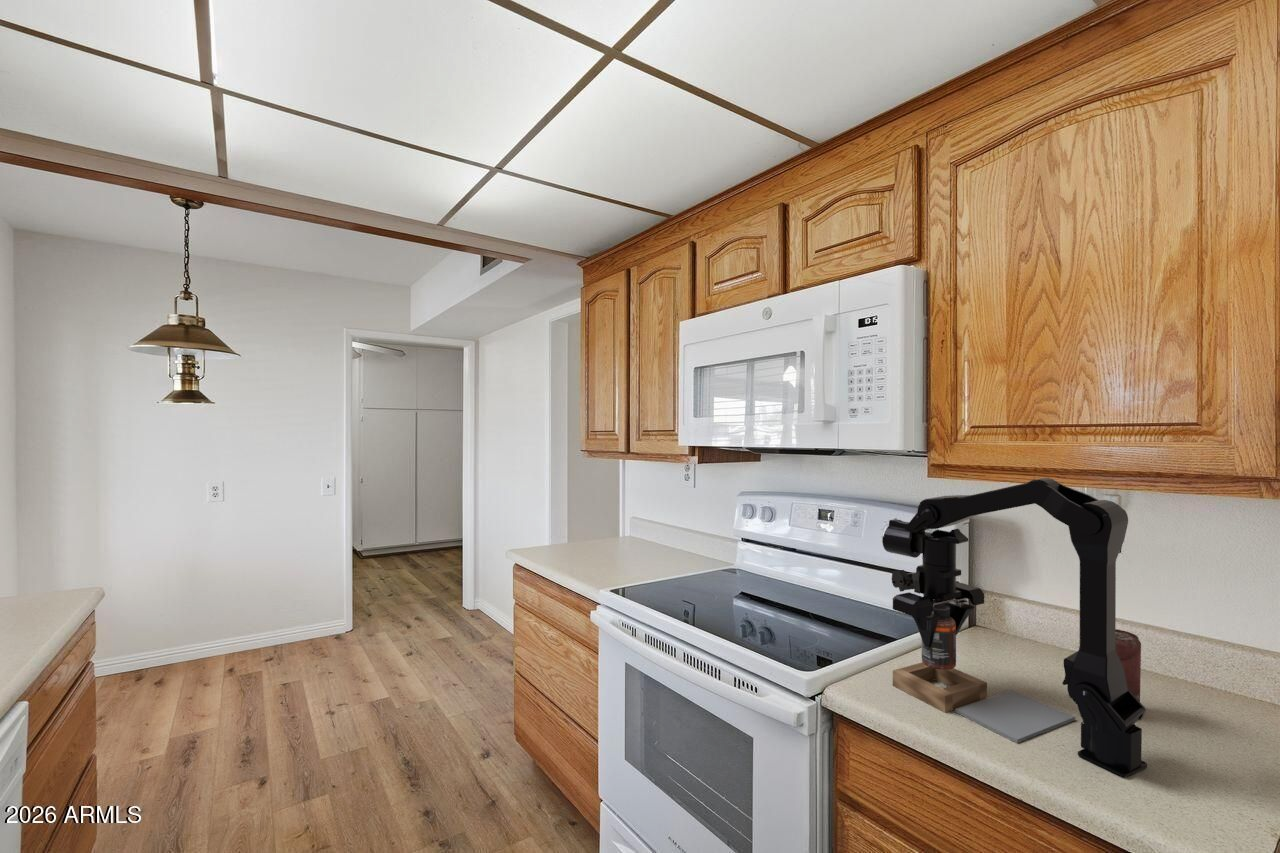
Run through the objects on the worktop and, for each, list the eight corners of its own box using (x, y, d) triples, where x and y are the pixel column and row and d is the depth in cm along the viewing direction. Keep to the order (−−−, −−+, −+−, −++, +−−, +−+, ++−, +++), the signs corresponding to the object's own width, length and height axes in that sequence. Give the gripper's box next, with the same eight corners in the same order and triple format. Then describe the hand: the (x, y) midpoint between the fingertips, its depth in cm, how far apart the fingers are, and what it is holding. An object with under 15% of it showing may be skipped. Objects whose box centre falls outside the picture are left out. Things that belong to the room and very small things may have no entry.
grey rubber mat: (1075, 720, 103) (1075, 716, 103) (1016, 743, 96) (1016, 739, 96) (1012, 692, 113) (1012, 689, 113) (955, 712, 106) (955, 708, 106)
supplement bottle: (948, 658, 117) (948, 601, 116) (961, 671, 111) (962, 611, 110) (916, 657, 117) (916, 600, 117) (928, 670, 111) (928, 610, 111)
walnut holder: (986, 698, 111) (987, 682, 111) (944, 712, 106) (945, 695, 106) (933, 673, 122) (933, 659, 122) (892, 685, 117) (892, 670, 117)
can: (1091, 710, 107) (1092, 633, 106) (1100, 699, 111) (1102, 624, 110) (1134, 724, 102) (1136, 643, 101) (1143, 711, 106) (1144, 634, 106)
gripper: (935, 548, 125) (935, 622, 125) (870, 559, 116) (869, 637, 117) (986, 560, 114) (985, 640, 115) (918, 573, 106) (918, 659, 107)
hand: (938, 643), depth 114 cm, fingers closed on supplement bottle, 6 cm apart
